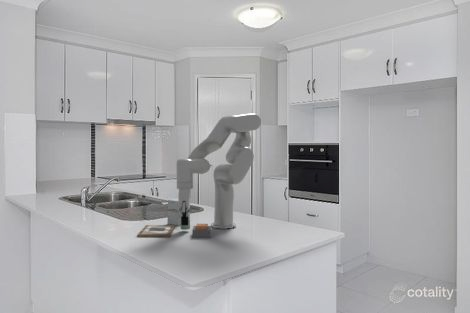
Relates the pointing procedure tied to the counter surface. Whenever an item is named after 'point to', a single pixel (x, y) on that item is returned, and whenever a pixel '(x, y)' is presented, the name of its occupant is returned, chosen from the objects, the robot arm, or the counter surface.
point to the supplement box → (173, 212)
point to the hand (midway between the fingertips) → (185, 223)
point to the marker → (185, 227)
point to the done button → (202, 226)
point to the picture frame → (156, 231)
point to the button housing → (201, 232)
